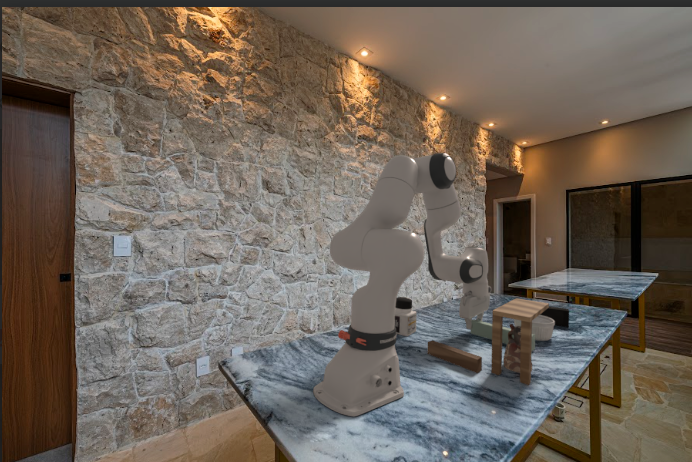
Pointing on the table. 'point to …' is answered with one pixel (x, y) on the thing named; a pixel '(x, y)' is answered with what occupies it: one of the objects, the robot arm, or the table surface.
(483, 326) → the sage green l-bracket
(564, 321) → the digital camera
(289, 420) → the table surface
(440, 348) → the stick
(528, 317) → the shelf
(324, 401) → the robot arm
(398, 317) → the container
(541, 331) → the ramekin
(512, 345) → the figurine
